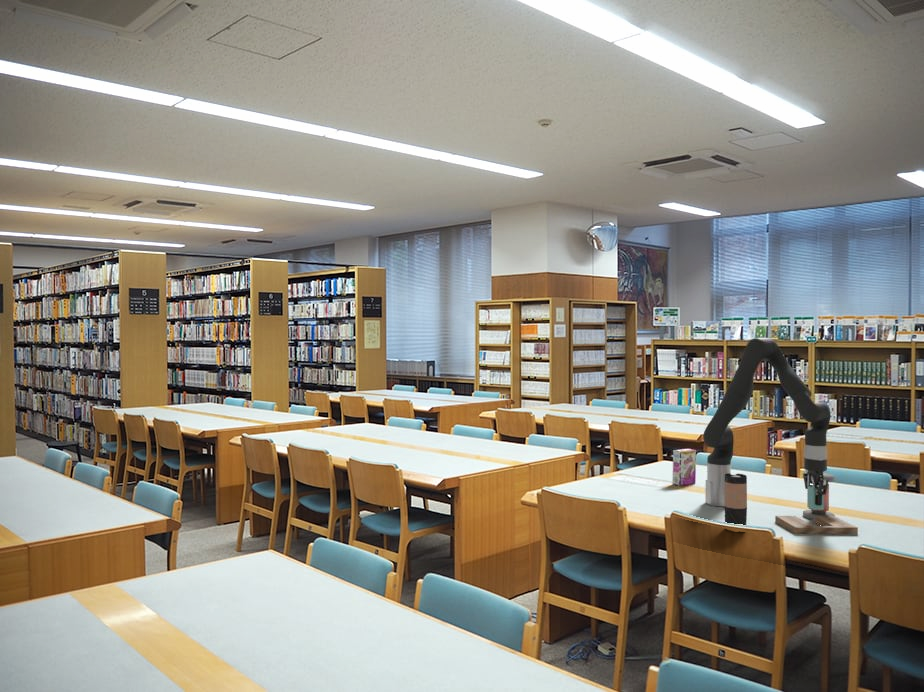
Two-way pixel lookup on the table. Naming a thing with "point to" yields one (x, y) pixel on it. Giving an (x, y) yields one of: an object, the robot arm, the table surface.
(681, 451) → the candy bar box
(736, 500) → the travel mug
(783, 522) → the notched board
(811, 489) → the teal peg
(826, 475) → the bobbin
